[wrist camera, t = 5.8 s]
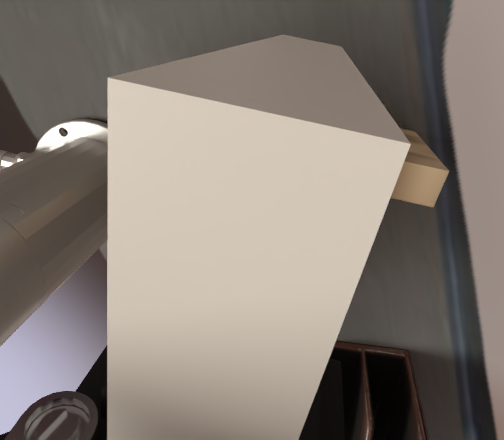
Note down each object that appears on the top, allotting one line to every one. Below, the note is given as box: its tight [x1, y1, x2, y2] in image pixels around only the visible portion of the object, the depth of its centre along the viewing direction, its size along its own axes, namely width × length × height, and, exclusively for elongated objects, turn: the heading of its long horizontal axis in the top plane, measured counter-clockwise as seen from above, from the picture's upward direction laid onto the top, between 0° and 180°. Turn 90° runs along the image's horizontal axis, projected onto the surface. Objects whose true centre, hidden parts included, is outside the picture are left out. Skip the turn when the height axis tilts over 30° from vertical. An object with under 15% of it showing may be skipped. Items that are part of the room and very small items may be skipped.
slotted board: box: [391, 128, 449, 207], centre depth 29 cm, size 20×2×10 cm, turn 80°
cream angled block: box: [107, 35, 411, 440], centre depth 13 cm, size 14×2×15 cm, turn 170°
